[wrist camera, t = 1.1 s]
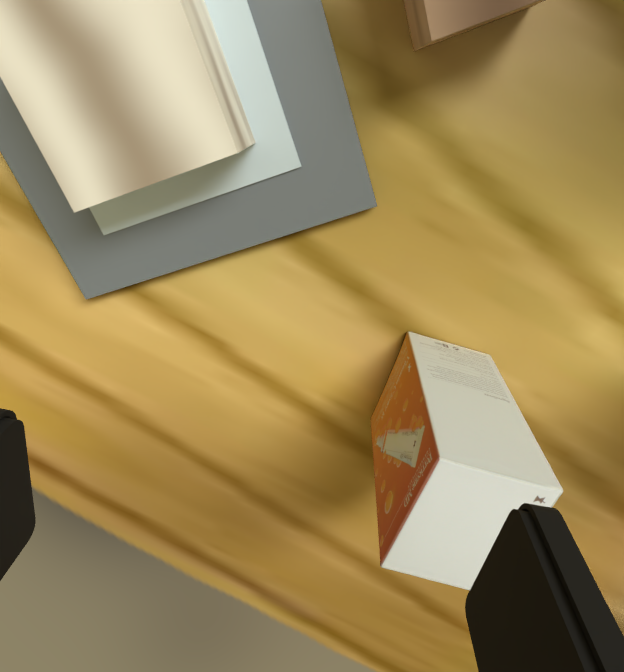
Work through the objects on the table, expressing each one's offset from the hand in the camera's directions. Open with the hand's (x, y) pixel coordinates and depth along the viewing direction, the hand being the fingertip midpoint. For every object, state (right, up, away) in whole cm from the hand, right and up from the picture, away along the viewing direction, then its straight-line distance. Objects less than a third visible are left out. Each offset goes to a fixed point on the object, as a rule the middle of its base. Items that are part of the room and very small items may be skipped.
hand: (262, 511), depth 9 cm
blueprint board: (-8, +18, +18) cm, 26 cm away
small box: (+9, 0, +26) cm, 28 cm away
